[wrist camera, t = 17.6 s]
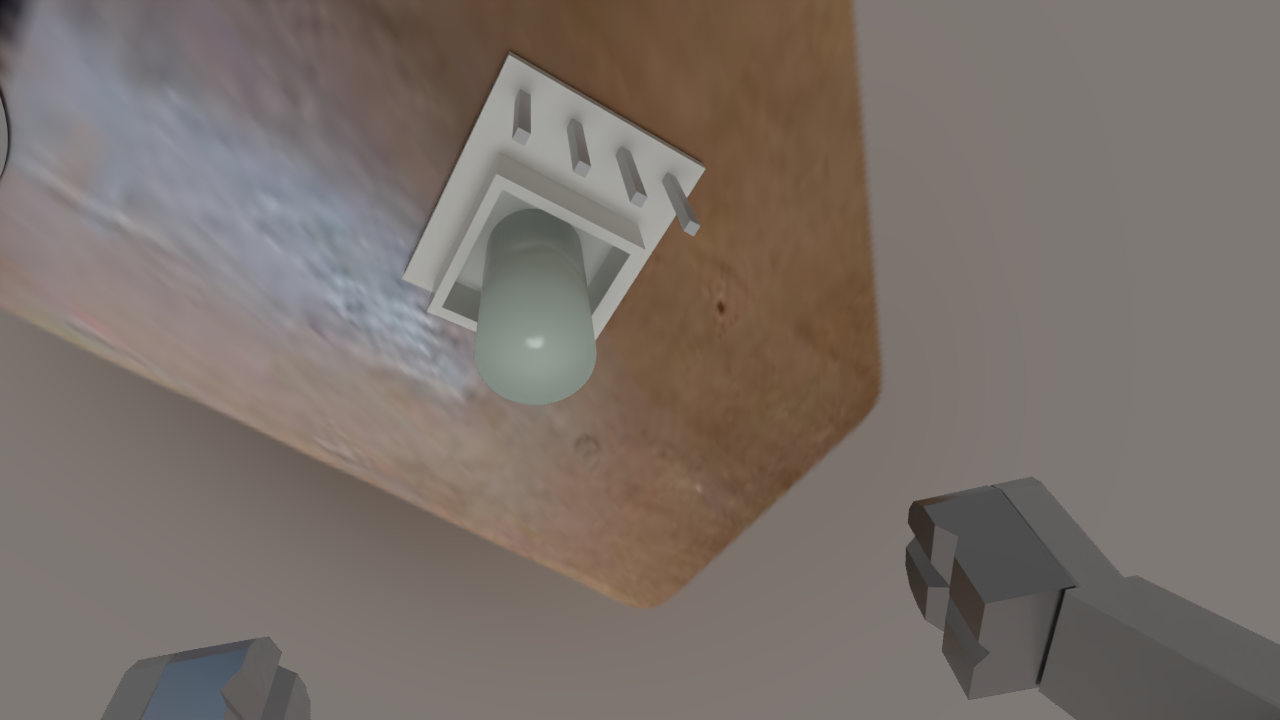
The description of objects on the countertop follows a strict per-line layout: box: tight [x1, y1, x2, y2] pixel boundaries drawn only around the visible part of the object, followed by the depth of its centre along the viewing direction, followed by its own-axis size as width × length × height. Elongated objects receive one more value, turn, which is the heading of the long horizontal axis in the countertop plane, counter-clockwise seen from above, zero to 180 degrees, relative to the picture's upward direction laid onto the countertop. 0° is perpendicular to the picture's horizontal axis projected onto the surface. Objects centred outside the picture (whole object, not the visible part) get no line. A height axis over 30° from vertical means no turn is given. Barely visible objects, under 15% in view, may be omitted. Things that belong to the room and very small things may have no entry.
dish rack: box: [402, 51, 705, 341], centre depth 39 cm, size 14×12×8 cm
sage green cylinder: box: [474, 209, 596, 405], centre depth 38 cm, size 6×6×11 cm
